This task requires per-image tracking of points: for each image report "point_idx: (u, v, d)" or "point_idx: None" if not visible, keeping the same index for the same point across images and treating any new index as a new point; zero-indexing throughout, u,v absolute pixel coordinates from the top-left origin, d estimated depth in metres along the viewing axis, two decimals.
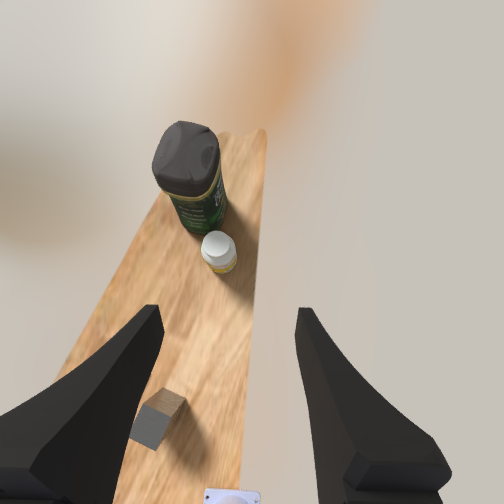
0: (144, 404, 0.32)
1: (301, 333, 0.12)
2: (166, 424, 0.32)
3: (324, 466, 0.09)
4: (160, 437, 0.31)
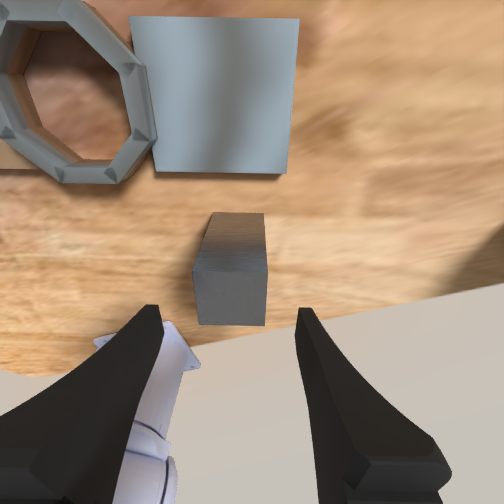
0: (266, 275, 0.13)
1: (301, 333, 0.12)
2: (248, 323, 0.15)
3: (324, 466, 0.09)
4: (223, 323, 0.15)
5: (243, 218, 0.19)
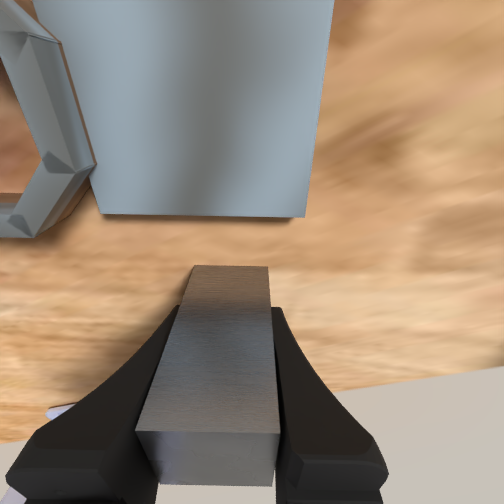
0: (277, 434, 0.07)
1: None
2: (245, 483, 0.09)
3: (278, 465, 0.09)
4: (202, 483, 0.09)
5: (238, 278, 0.13)
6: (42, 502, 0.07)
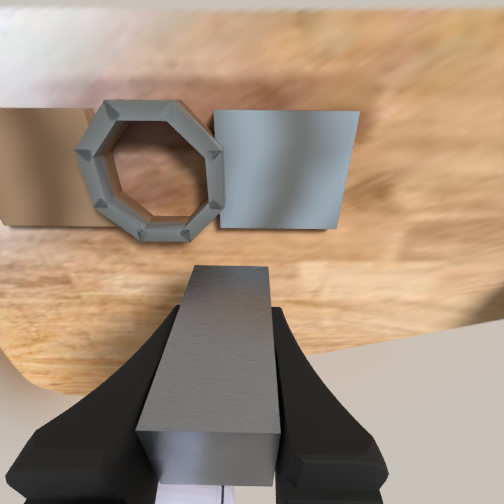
0: (277, 434, 0.07)
1: None
2: (245, 483, 0.09)
3: (278, 465, 0.09)
4: (202, 483, 0.09)
5: (238, 278, 0.13)
6: (42, 502, 0.07)
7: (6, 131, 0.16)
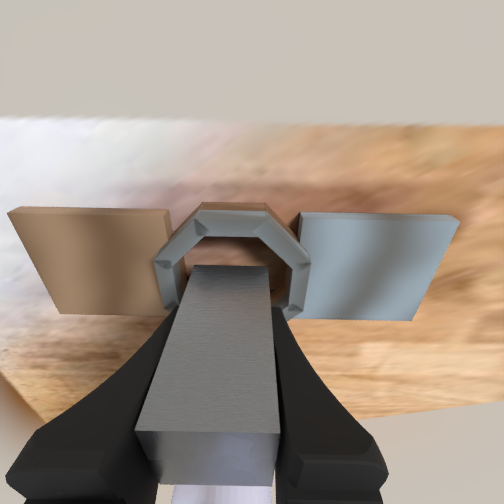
0: (277, 434, 0.07)
1: None
2: (244, 483, 0.09)
3: (278, 465, 0.09)
4: (201, 483, 0.09)
5: (238, 278, 0.13)
6: (42, 502, 0.07)
7: (76, 234, 0.15)
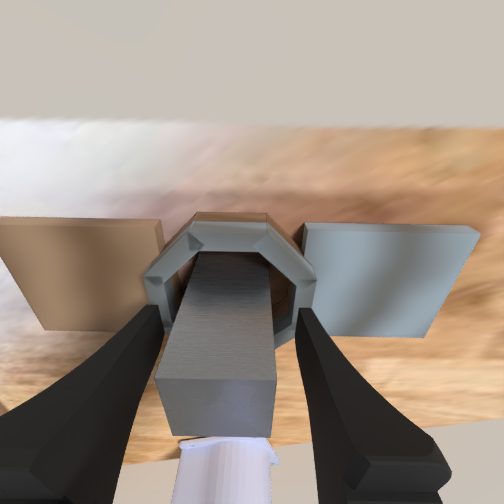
0: (274, 382, 0.08)
1: (301, 333, 0.12)
2: (246, 434, 0.10)
3: (324, 466, 0.09)
4: (209, 434, 0.10)
5: (240, 261, 0.14)
6: None
7: (59, 247, 0.14)
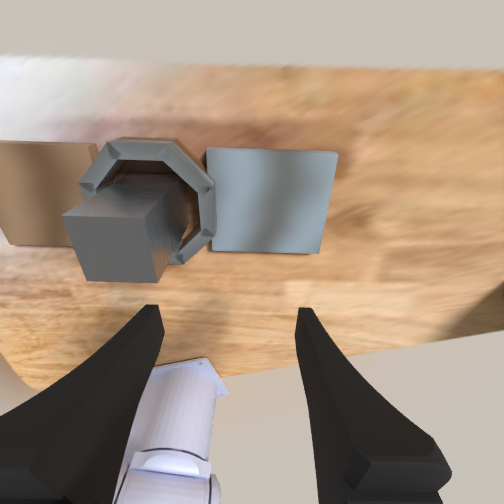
0: (143, 221, 0.12)
1: (301, 333, 0.12)
2: (140, 280, 0.14)
3: (324, 466, 0.09)
4: (112, 279, 0.14)
5: (158, 177, 0.18)
6: None
7: (15, 163, 0.18)
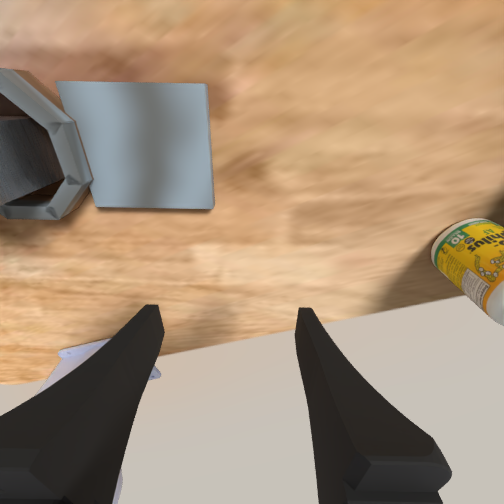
0: None
1: (301, 333, 0.12)
2: None
3: (324, 466, 0.09)
4: None
5: (11, 117, 0.16)
6: None
7: None
